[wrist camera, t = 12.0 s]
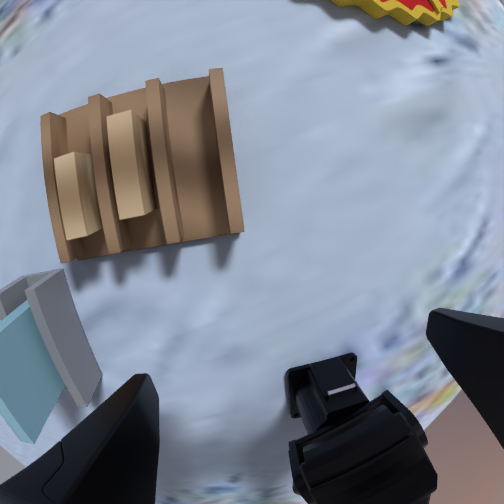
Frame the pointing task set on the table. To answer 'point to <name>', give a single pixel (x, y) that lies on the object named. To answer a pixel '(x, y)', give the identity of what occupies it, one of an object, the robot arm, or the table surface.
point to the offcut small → (77, 194)
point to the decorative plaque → (406, 9)
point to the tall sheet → (26, 375)
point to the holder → (57, 329)
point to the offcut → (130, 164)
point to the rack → (153, 166)
